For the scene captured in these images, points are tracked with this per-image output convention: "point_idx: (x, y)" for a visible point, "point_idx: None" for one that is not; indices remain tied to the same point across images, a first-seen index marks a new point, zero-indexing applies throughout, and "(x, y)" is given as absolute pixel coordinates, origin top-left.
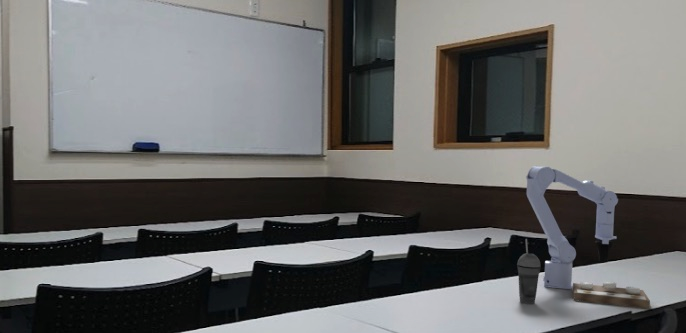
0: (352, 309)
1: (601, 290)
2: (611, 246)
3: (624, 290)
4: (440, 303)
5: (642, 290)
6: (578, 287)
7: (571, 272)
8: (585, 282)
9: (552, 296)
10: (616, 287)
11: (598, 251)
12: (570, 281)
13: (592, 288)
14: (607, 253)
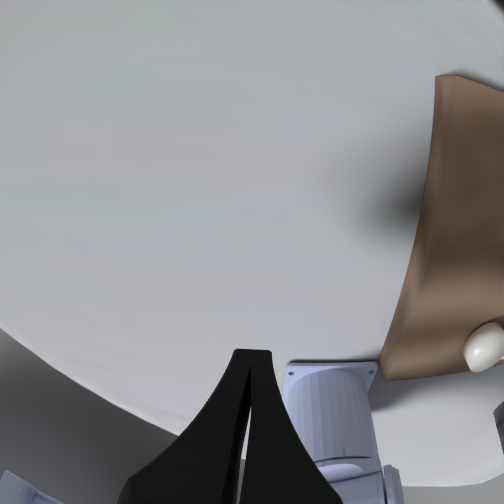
0: (494, 474)
1: (501, 292)
2: (333, 489)
3: (495, 191)
4: (488, 458)
5: (467, 83)
6: (458, 361)
7: (353, 419)
8: (474, 359)
9: (466, 388)
10: (440, 218)
11: (240, 459)
12: (354, 388)
13: (499, 325)
14: (285, 419)
